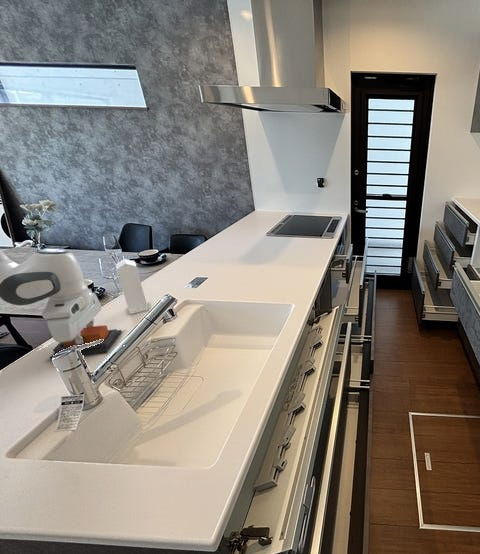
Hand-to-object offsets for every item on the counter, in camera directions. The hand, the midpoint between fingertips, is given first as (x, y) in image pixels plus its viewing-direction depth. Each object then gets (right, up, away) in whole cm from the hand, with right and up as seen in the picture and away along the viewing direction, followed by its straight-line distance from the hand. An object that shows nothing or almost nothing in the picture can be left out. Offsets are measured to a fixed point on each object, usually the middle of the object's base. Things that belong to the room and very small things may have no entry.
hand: (86, 337), depth 98 cm
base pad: (0, -3, +1) cm, 3 cm away
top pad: (0, -2, +1) cm, 2 cm away
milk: (-1, +7, +23) cm, 24 cm away
